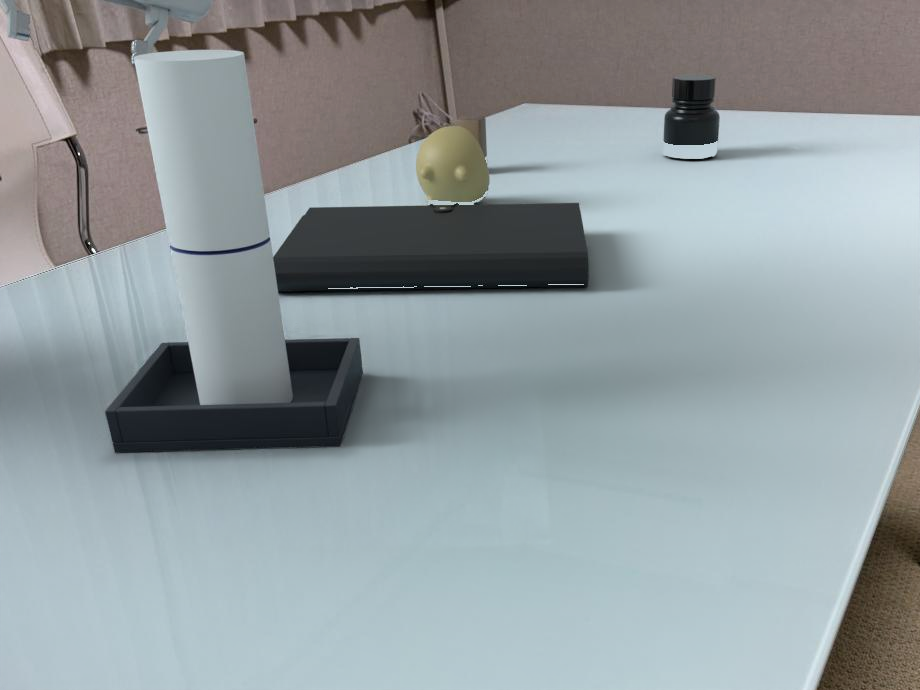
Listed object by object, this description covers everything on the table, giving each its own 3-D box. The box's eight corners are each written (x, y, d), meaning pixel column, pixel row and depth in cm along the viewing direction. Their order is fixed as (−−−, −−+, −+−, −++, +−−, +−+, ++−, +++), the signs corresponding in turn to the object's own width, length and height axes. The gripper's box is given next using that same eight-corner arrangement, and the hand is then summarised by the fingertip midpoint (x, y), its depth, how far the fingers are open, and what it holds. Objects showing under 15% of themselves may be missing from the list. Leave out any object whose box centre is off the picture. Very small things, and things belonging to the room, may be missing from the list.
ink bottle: (729, 156, 173) (735, 77, 167) (697, 164, 167) (702, 82, 161) (682, 149, 179) (686, 72, 173) (649, 156, 173) (652, 78, 167)
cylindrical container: (208, 425, 79) (139, 63, 66) (194, 392, 85) (128, 53, 72) (301, 408, 81) (252, 56, 69) (282, 378, 87) (233, 47, 74)
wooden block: (488, 169, 166) (486, 115, 162) (481, 174, 163) (478, 119, 159) (463, 168, 167) (461, 115, 163) (456, 174, 163) (453, 119, 159)
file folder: (578, 199, 128) (588, 255, 108) (578, 233, 130) (588, 294, 110) (309, 203, 128) (267, 261, 108) (313, 237, 130) (273, 300, 110)
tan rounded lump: (491, 235, 144) (505, 170, 147) (475, 180, 133) (490, 111, 136) (423, 230, 146) (438, 166, 149) (401, 175, 135) (418, 107, 138)
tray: (114, 452, 77) (104, 411, 75) (168, 379, 90) (161, 342, 88) (340, 446, 77) (335, 405, 76) (363, 374, 90) (359, 337, 88)
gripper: (-63, -194, 76) (-61, 11, 78) (221, -104, 87) (215, 73, 89) (-68, -163, 81) (-66, 28, 83) (200, -82, 92) (195, 84, 94)
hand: (82, 52), depth 86 cm, fingers open, 8 cm apart
